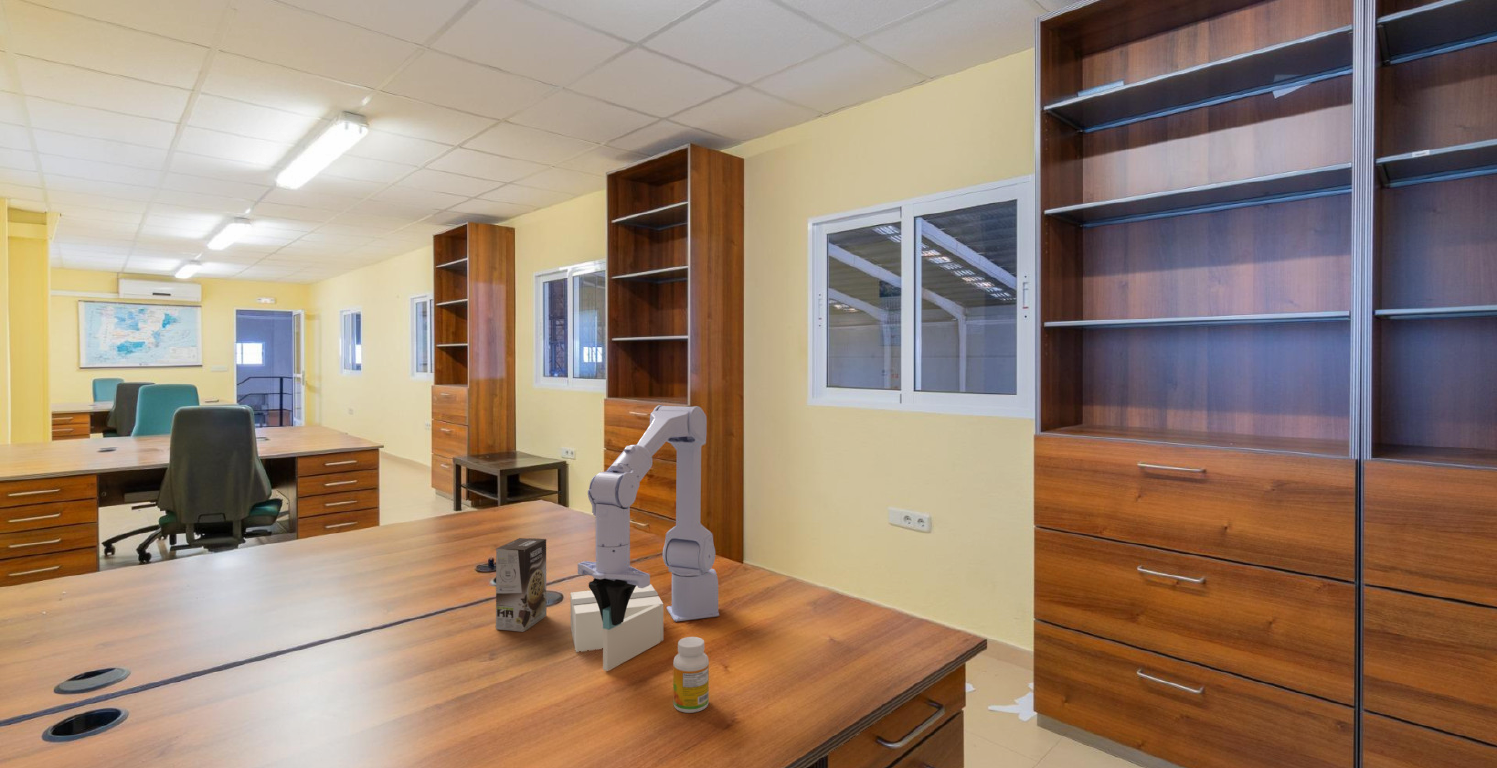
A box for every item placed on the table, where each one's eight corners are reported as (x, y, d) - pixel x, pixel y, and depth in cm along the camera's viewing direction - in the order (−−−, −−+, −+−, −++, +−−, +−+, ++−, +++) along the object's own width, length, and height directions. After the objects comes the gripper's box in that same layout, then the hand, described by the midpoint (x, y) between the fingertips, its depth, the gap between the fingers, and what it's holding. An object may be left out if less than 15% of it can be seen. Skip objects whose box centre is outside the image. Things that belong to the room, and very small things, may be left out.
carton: (651, 618, 137) (651, 583, 137) (663, 640, 126) (663, 602, 126) (570, 627, 132) (570, 591, 132) (575, 652, 121) (575, 613, 121)
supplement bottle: (673, 696, 105) (673, 635, 104) (708, 695, 105) (708, 634, 105) (672, 714, 99) (672, 649, 99) (709, 713, 100) (709, 648, 100)
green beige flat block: (655, 641, 125) (655, 586, 125) (661, 642, 125) (661, 588, 124) (602, 669, 113) (602, 609, 113) (608, 671, 113) (608, 611, 112)
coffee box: (524, 632, 130) (524, 549, 129) (494, 630, 131) (494, 548, 131) (548, 615, 139) (547, 538, 138) (519, 613, 140) (519, 536, 140)
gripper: (564, 542, 114) (564, 621, 114) (630, 554, 107) (630, 639, 107) (593, 533, 120) (594, 608, 120) (657, 544, 113) (657, 624, 113)
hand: (613, 622), depth 114 cm, fingers closed
